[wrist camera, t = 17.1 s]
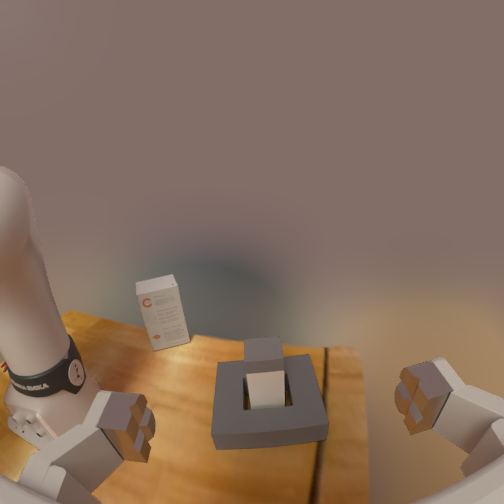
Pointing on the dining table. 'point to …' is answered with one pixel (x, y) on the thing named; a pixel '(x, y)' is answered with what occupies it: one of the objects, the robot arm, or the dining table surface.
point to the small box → (162, 312)
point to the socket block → (268, 409)
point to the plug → (265, 372)
